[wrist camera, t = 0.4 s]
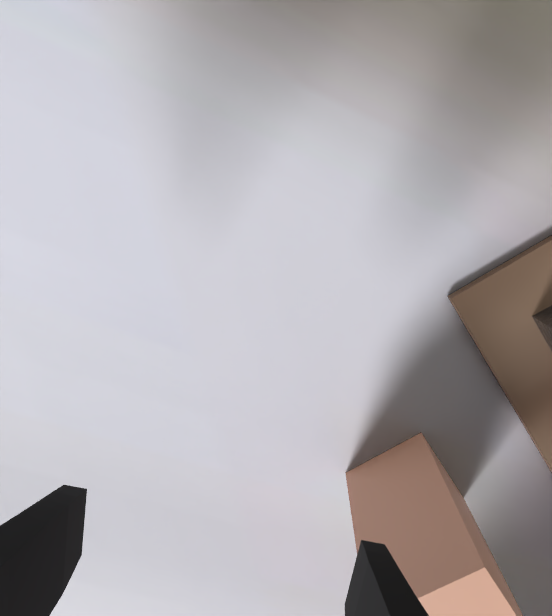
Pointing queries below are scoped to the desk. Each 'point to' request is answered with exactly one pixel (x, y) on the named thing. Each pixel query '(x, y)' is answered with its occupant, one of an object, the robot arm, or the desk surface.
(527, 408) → the socket board
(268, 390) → the desk surface
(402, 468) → the peg
